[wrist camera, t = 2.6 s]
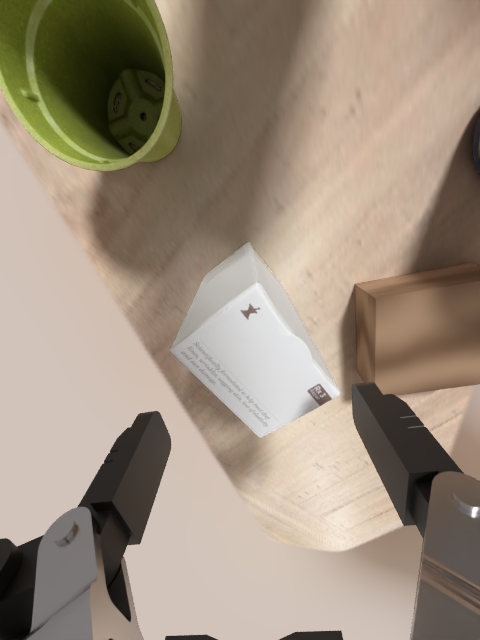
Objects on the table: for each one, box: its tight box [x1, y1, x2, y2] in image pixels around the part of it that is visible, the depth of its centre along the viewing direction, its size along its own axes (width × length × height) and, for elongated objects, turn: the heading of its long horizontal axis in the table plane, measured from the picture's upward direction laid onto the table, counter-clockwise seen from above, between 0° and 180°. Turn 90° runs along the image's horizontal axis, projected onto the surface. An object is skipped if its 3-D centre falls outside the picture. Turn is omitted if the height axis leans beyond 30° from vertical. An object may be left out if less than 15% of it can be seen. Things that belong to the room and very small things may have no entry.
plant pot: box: [0, 0, 181, 171], centre depth 17 cm, size 9×9×9 cm
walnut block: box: [355, 263, 480, 395], centre depth 25 cm, size 11×11×5 cm
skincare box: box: [170, 242, 341, 438], centre depth 19 cm, size 8×6×15 cm
